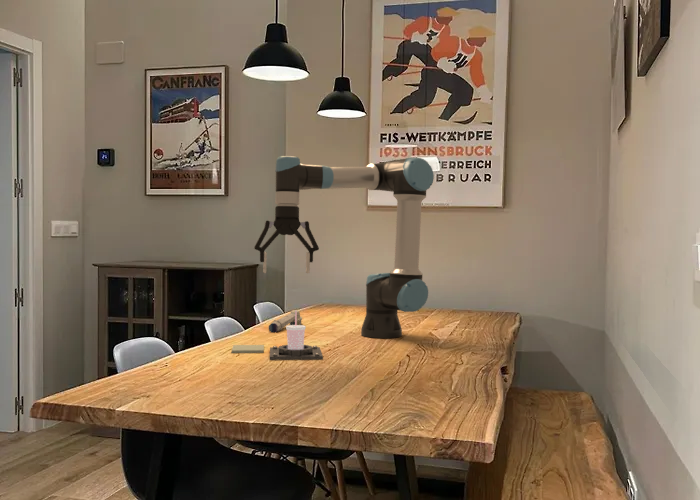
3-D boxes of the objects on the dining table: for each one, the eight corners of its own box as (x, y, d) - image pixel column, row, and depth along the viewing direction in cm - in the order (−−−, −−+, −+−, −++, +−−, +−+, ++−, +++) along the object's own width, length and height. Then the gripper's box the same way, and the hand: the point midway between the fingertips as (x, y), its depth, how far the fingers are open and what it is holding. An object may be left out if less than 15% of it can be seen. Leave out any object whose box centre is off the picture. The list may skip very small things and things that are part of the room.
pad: (264, 347, 230) (264, 344, 230) (263, 352, 220) (263, 350, 220) (233, 347, 229) (233, 345, 229) (231, 353, 219) (231, 350, 219)
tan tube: (266, 322, 263) (291, 306, 286) (267, 339, 264) (292, 322, 288) (279, 323, 261) (303, 307, 285) (280, 340, 262) (304, 322, 286)
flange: (319, 350, 226) (319, 342, 226) (322, 359, 210) (322, 351, 210) (269, 350, 224) (270, 343, 224) (269, 359, 208) (269, 352, 208)
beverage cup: (290, 357, 213) (290, 311, 212) (282, 354, 218) (283, 309, 218) (308, 355, 216) (308, 310, 215) (300, 352, 221) (301, 308, 221)
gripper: (324, 206, 226) (323, 272, 226) (246, 205, 220) (245, 271, 221) (328, 206, 218) (327, 273, 219) (248, 204, 213) (247, 273, 214)
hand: (286, 272), depth 220 cm, fingers open, 13 cm apart
